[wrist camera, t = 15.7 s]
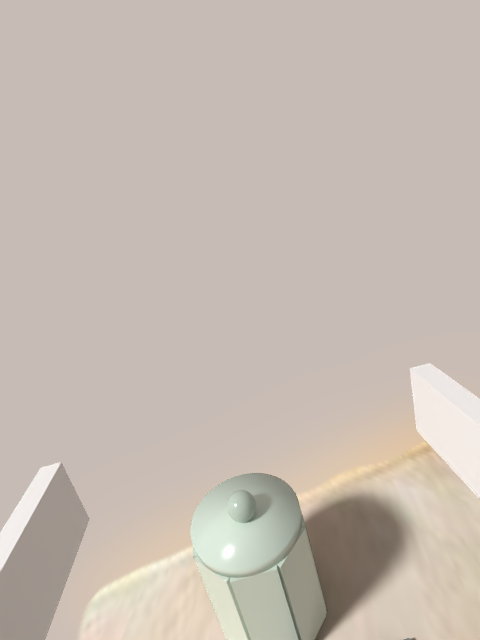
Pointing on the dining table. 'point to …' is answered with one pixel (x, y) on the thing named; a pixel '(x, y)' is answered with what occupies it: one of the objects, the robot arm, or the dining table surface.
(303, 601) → the lidded canister jar
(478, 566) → the dining table surface
